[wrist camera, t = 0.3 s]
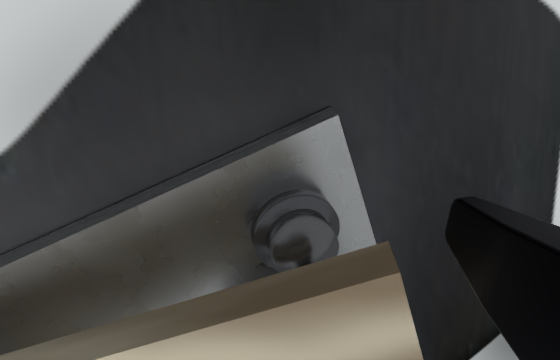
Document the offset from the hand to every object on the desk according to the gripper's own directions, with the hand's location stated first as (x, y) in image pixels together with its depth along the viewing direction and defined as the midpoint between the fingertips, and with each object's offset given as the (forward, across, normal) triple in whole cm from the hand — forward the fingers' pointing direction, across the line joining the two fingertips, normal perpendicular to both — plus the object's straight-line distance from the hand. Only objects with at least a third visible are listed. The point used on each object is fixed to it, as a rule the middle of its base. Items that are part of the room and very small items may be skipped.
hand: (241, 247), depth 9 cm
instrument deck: (+7, +2, +13) cm, 15 cm away
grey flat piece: (+14, +2, +13) cm, 19 cm away
